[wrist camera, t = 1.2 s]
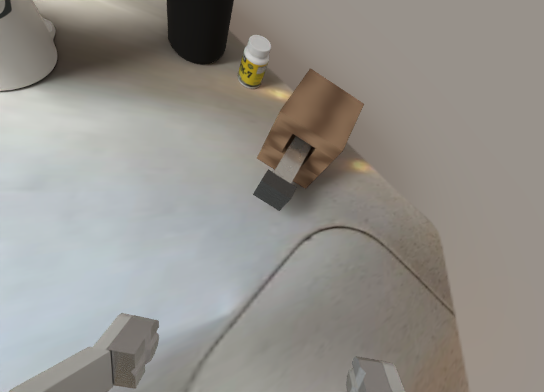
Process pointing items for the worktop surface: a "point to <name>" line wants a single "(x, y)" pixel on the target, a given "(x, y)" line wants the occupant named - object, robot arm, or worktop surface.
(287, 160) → the plunger
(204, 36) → the coffee jar
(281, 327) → the worktop surface
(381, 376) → the robot arm
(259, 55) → the supplement bottle
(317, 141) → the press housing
